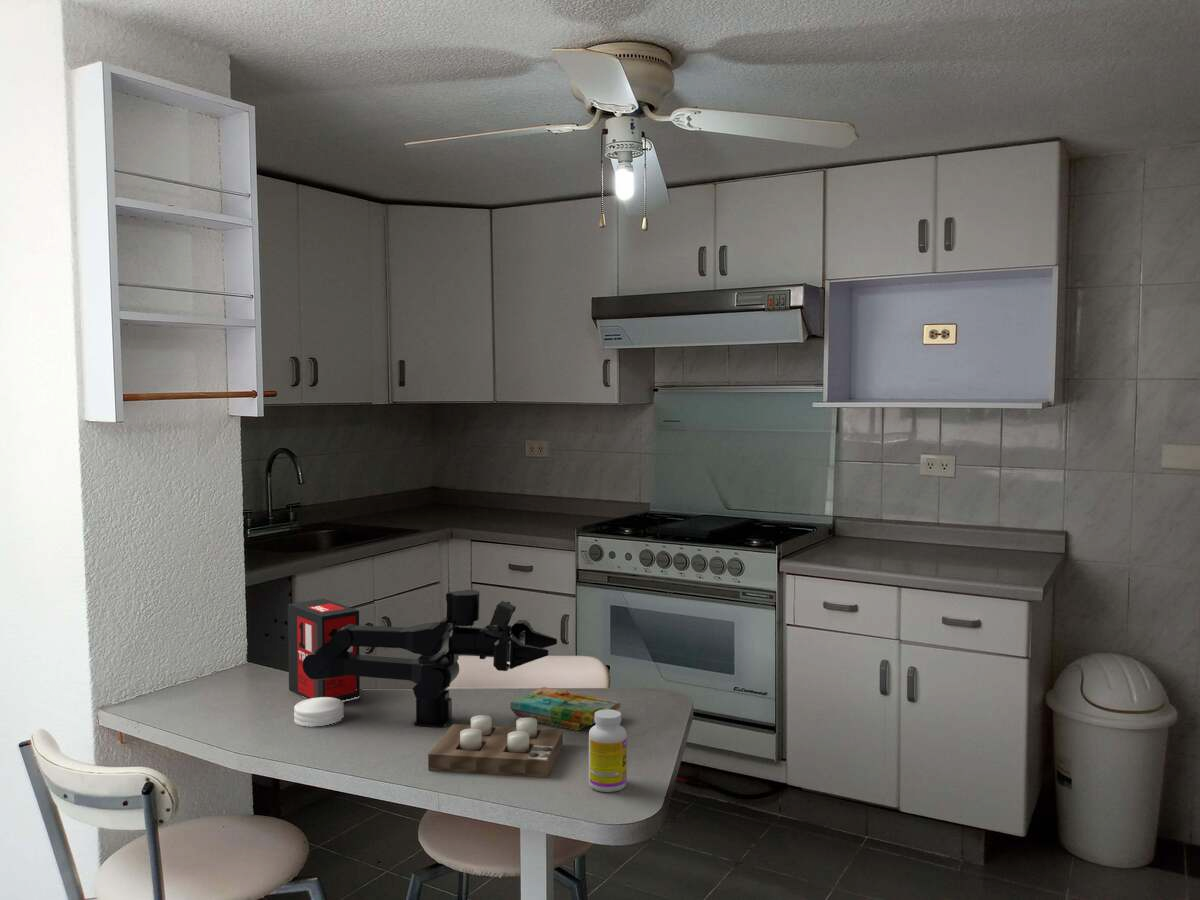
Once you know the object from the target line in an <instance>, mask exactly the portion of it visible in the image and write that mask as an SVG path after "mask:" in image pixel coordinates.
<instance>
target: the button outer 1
mask: <svg viewBox="0 0 1200 900" xmlns="http://www.w3.org/2000/svg"><path fill="white" fill-rule="evenodd" d="M481 747H482V731H481V730H479V729H474V728H470V729H464V730H462V731H461V732H460V748H461V749H463V750H477V749H480V748H481Z"/></svg>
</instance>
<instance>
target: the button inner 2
mask: <svg viewBox="0 0 1200 900" xmlns="http://www.w3.org/2000/svg"><path fill="white" fill-rule="evenodd" d="M515 724H516V725H515V726H516V731H525V732H528V733H529V738H533V737H536V736H537V728H538V722H537V720H536V719H534V718H528V717H526V718H518V719H516V722H515Z"/></svg>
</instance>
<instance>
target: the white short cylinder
mask: <svg viewBox="0 0 1200 900" xmlns="http://www.w3.org/2000/svg"><path fill="white" fill-rule="evenodd" d="M344 706H345V705H344V702H342V701H341V700H340V699H337V698H331V697H319V698H311V699H304V700H301V701H298V702H297V703H296V704H295V706H294V708H293V711H294V713H293V715H294V719H293V720H294V723H295V724H296V725H297V726H299V725H300V727H303V726H306V727H305V728H316V727H315V726H323V727H325V726H324V725H329V724H332V725H334V724H333V723H335V724H337V723H336V722H338V721H340V720H341V719H342V718H343V719H344V717H345V714H344V710H345V709H344ZM343 719H342V720H343ZM342 720H341V721H342ZM341 721H340V722H341ZM338 723H339V722H338ZM308 726H309V727H308ZM313 726H314V727H313ZM329 726H330V725H329Z"/></svg>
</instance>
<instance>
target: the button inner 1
mask: <svg viewBox="0 0 1200 900" xmlns="http://www.w3.org/2000/svg"><path fill="white" fill-rule="evenodd" d="M492 719H493V718H492V717H491V716H490V715H485V714H479V715H474V716H472V717H471V718H470V725H471V728H474V729H479V730H481V731H482V736H486V735H489V734H491V732H492V726H493V725H492V724H493V722H492V721H493V720H492Z"/></svg>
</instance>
